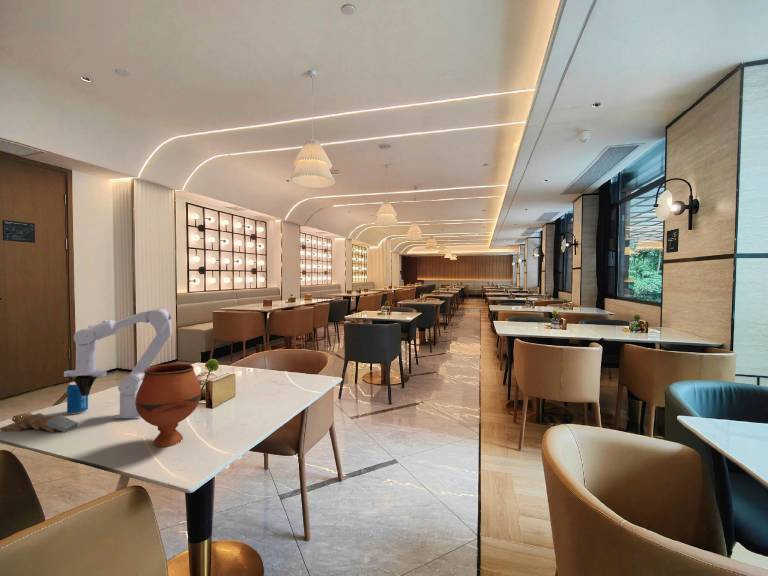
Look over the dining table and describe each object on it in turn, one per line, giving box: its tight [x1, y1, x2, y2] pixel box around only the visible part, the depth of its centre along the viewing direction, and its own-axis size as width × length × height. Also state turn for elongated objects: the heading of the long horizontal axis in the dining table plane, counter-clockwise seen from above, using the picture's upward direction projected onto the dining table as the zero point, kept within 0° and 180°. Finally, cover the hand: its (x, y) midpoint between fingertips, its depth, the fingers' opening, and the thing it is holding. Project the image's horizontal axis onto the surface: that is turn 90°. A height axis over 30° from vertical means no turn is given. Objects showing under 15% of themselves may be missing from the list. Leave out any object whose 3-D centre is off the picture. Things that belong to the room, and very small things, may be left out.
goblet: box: [135, 363, 202, 448], centre depth 120 cm, size 19×19×25 cm
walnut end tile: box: [0, 422, 24, 432], centre depth 128 cm, size 2×5×7 cm
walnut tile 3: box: [23, 412, 47, 431], centre depth 129 cm, size 2×5×7 cm
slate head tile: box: [46, 414, 79, 433], centre depth 128 cm, size 2×5×7 cm
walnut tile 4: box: [11, 412, 34, 430], centre depth 130 cm, size 2×5×7 cm
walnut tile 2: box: [35, 415, 58, 433], centre depth 128 cm, size 2×5×7 cm
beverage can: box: [66, 381, 89, 415], centre depth 145 cm, size 6×6×12 cm
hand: (85, 395), depth 137 cm, fingers closed
